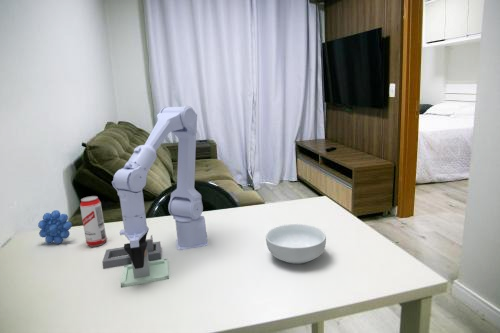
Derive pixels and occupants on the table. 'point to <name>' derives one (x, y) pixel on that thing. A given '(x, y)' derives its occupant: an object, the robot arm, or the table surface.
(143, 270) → the plug
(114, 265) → the grey double window frame
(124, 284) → the tray
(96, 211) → the beer can
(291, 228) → the cereal bowl
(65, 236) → the blue lumpy cluster
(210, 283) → the table surface
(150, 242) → the twin plug
